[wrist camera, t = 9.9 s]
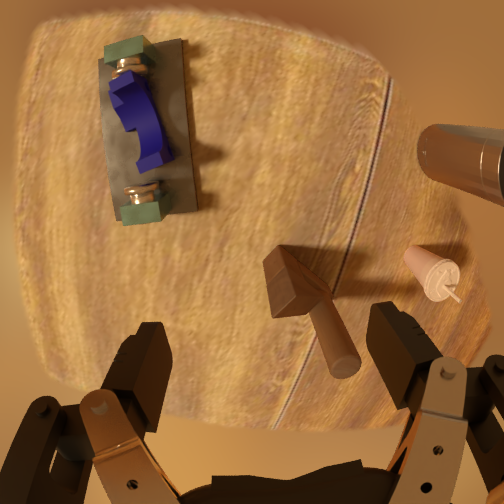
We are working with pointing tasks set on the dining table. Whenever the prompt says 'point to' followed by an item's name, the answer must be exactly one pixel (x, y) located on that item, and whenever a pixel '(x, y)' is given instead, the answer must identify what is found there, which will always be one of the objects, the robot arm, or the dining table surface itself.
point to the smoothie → (433, 273)
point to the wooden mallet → (310, 309)
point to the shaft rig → (127, 143)
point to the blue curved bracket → (141, 119)
